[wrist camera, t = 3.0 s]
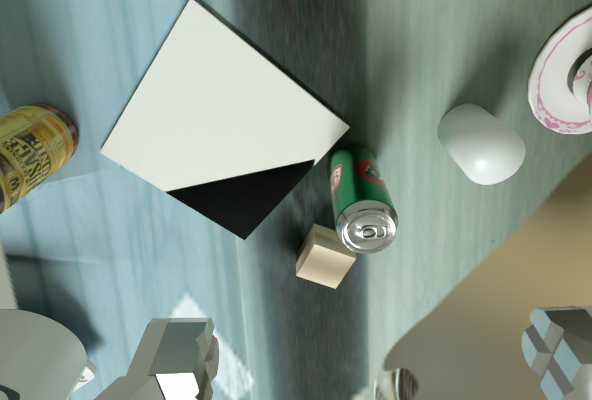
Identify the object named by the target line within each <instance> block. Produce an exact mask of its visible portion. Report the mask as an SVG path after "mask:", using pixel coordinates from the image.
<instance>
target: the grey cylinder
mask: <svg viewBox="0 0 592 400" xmlns="http://www.w3.org/2000/svg"><path fill="white" fill-rule="evenodd" d="M438 137H439V140H440V142H441V144H442V145H443V146H444V148H445V149H446V150H447V151H448V153H449V154H450V155H451V156H452V158H453V159H454V160H455V161H456V162H457V164H458V165H459V166H460V167H461V169H462V170H463V171H464V172H465V174H466V175H467V176H468V177H469V178H470V179H471V180H472V181H474V182H476V183H479V184H485V185H488V184H495V183H498V182H501V181H503V180H505V179H507V178H509V177H510V176H511V175H513V174H514V173H515V172H516V171H517V170H518V168H519V167H520V166H521V164H522V162H523V160H524V157H525V145H524V142H523V140H522V139H521V138H520V137H519V136H518V135H517V134H516V133H514V132H513V131H512V130H511V129H509V128H508V127H507V126H505V125H504V124H503V123H502V122H500V121H499V120H498V119H496V118H495V117H494V116H493V115H491V114H490V113H489V112H487V111H486V110H485V109H484V108H482V107H481V106H479V105H476V104H470V103H469V104H462V105H459V106H456V107H455V108H453V109H451V110H450V111H449V112H448V113H447V114H446V115H445V116H444V117H443V118H442V120H441V122H440V124H439V127H438Z"/></svg>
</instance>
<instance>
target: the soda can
mask: <svg viewBox="0 0 592 400" xmlns="http://www.w3.org/2000/svg"><path fill="white" fill-rule="evenodd" d="M327 174H328V181H329V188H330V195H331V201H332V208H333V215H334V222H335V229H336V233H337V235H338V237H339V239H340V240H341V241H342V242H343V243H344V244H345V245H346V246H347V247H348V248H349V249H350V250H352V251H354V252H357V253H361V254H370V253H375V252H378V251H381V250H383V249H385V248H386V247H387V246H388V245H389V244H390V243H391V242H392V241H393V239H394V237H395V234H396V229H397V226H398V217H397V214H396V211H395V209H394V206H393V204H392V201H391V198H390V196H389V193H388V191H387V188H386V186H385V183H384V181H383V178H382V176H381V173H380V171H379V168H378V165H377V163H376V160H375V158H374V156H373V154H372V153H371V152H370V151H369V150H368V149H367V148H365V147H363V146H361V145H356V144H350V145H345V146H342V147H340V148H338V149H337V150H336V151H334V152H333V153H332V155H331V156H330V158H329V160H328V162H327Z"/></svg>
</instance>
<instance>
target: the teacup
mask: <svg viewBox="0 0 592 400" xmlns="http://www.w3.org/2000/svg"><path fill="white" fill-rule="evenodd" d="M590 48H592V6H591V7H590V8H588V9H586V10H584V11H583V12H581V13H579V14H578V15H576V16H574V17H573V18H571V19H569V20H568V21H567V22H566V23H565V24H564V25H563V26H562V27H561V28H560V29H559V30H558V31H557V32H555V33H554V34H553V35H552V36H551V37H550V38H549V40H548V41H547V43H546V44H545V46H544V47H543V49H542V50H541V52H540V53H539V55H538V56H537V58H536V60H535V62H534V65H533V68H532V71H531V74H530V77H529V79H528V101H529V104H530V107H531V110H532V113H533V115H534V116H535V117H536V118H537V119H538V120H539V121H540V122H541V123H542V124H543V125H544V126H545V127H547V128H549V129H552V130H554V131H557V132H559V133H564V134H582V133H586V132H591V131H592V55H591V56H590V57H589V58H588V59H587V60H586V61H585V62H584V63H583V64H582V65H581V67H580V68H579V70H578V71H577V73H576V75H575V78H574V82H573V93H574V94H573V93H572V92H571V91H570V90H569V88H568V84H567V77H568V73H569V70H570V68H571V66H572V64H573V63H574V62H575V60H576V59H577V58H578V57H579V56H580V55H581V54H582V53H584V52H585V51H586V50H588V49H590Z"/></svg>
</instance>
